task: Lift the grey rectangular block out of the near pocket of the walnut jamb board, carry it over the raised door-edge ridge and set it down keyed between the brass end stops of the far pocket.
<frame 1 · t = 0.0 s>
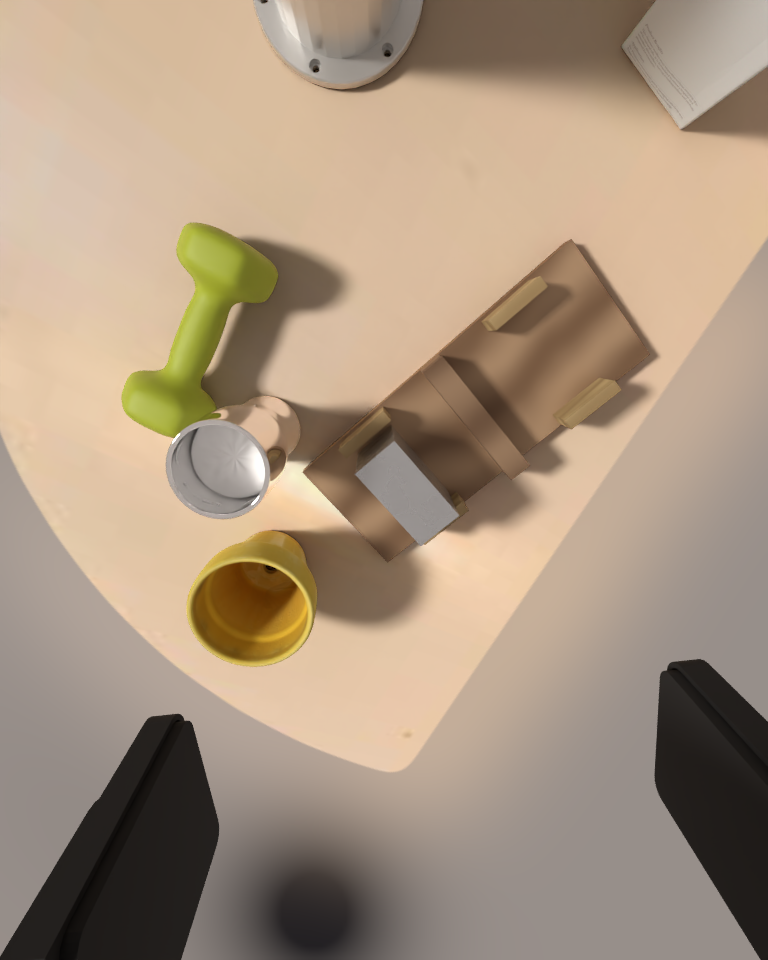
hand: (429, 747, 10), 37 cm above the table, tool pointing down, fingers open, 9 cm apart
jamb board: (468, 412, 45), on the table
plant pot: (274, 560, 49), on the table
dumbbell: (213, 337, 43), on the table
skincare box: (674, 61, 38), on the table
grey rectangular block: (403, 471, 45), point 1 cm above the table, touching jamb board
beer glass: (268, 428, 46), on the table
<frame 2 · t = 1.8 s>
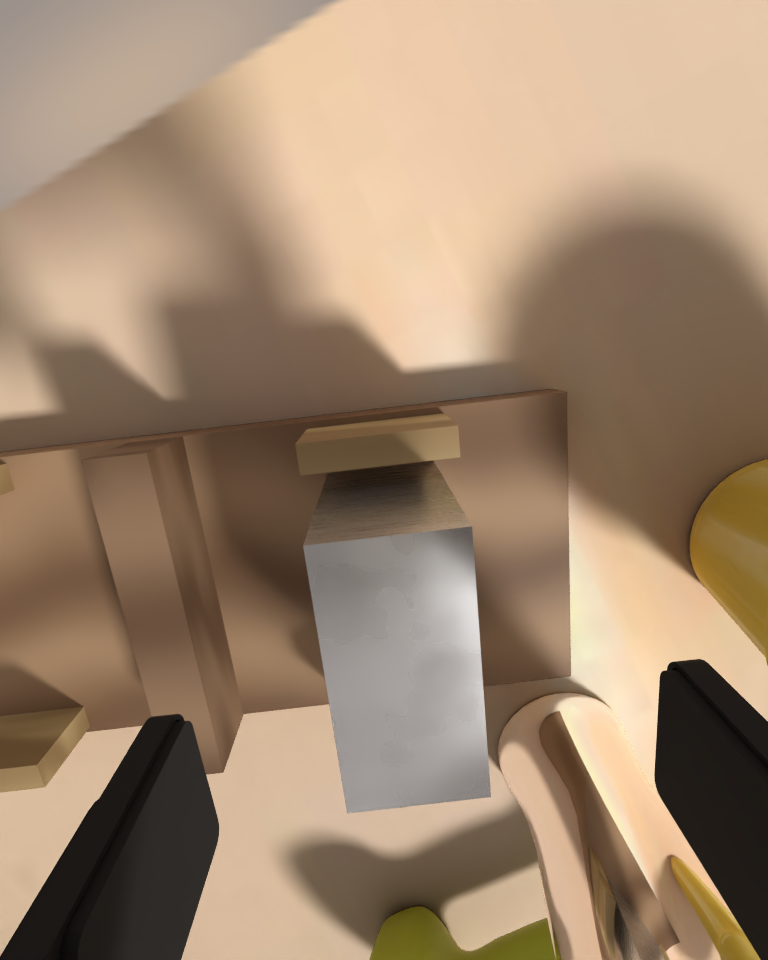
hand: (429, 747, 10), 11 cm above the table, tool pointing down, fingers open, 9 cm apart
jamb board: (202, 572, 21), on the table
plant pot: (760, 527, 21), on the table
dumbbell: (522, 881, 26), on the table
grey rectangular block: (392, 565, 19), point 1 cm above the table, touching jamb board
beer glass: (558, 742, 24), on the table
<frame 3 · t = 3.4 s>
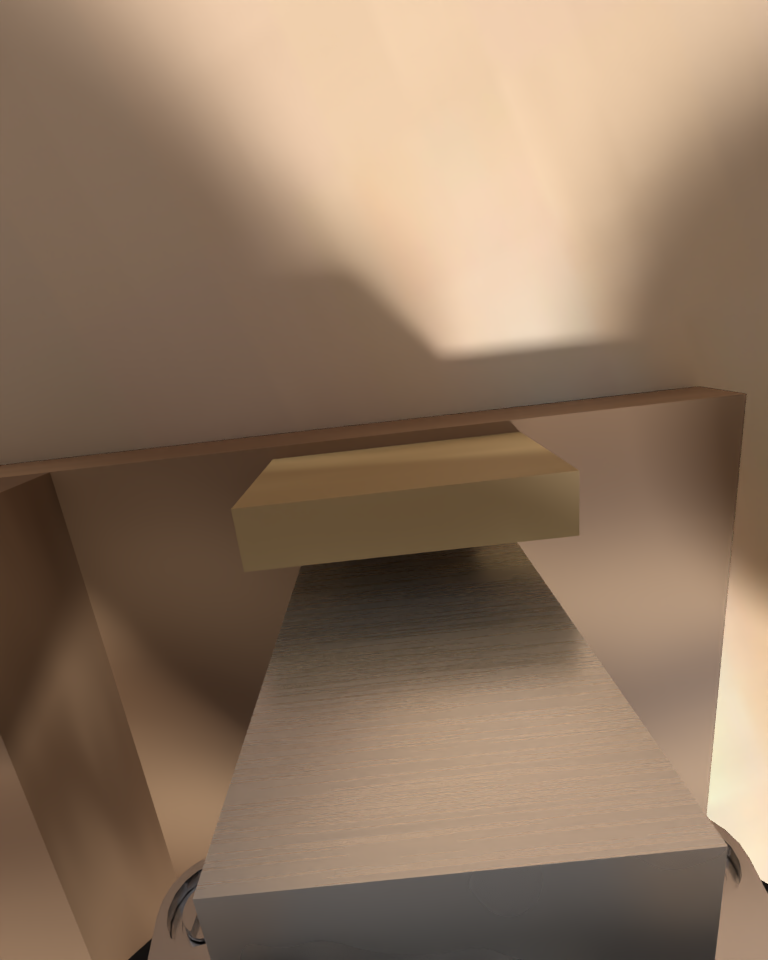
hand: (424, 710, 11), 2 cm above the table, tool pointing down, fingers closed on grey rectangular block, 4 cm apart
jamb board: (116, 678, 13), on the table
grey rectangular block: (421, 684, 11), point 1 cm above the table, touching gripper, jamb board
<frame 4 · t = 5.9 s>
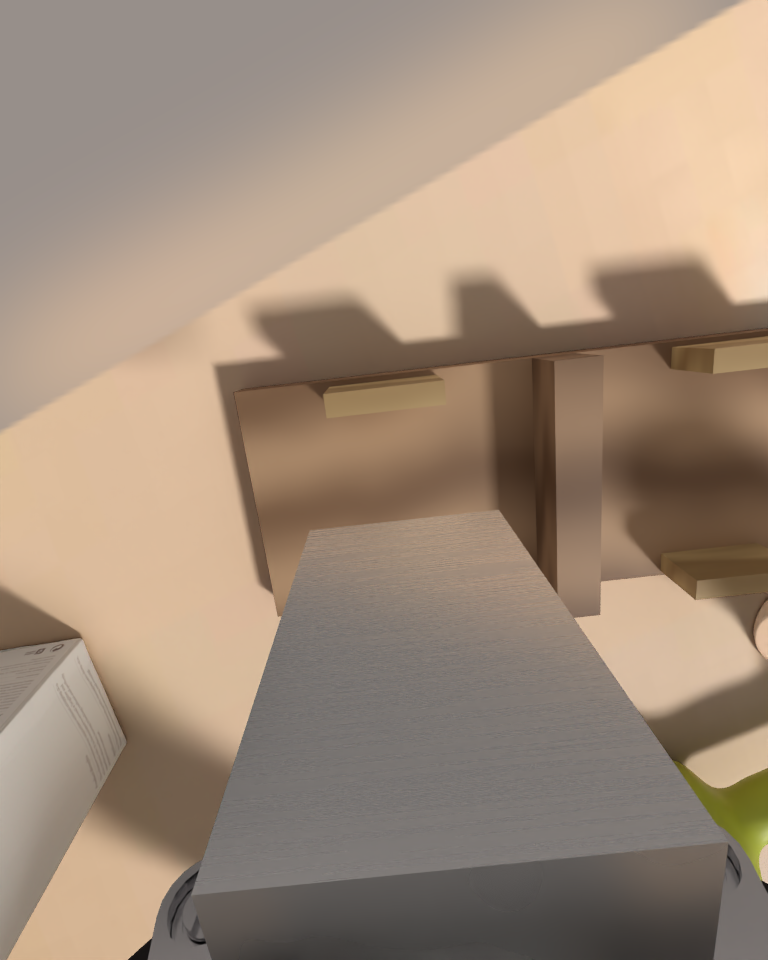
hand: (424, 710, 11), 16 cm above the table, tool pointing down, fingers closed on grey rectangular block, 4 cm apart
jamb board: (545, 470, 26), on the table
dumbbell: (750, 741, 32), on the table
skincare box: (68, 698, 30), on the table
grey rectangular block: (420, 678, 12), point 15 cm above the table, touching gripper
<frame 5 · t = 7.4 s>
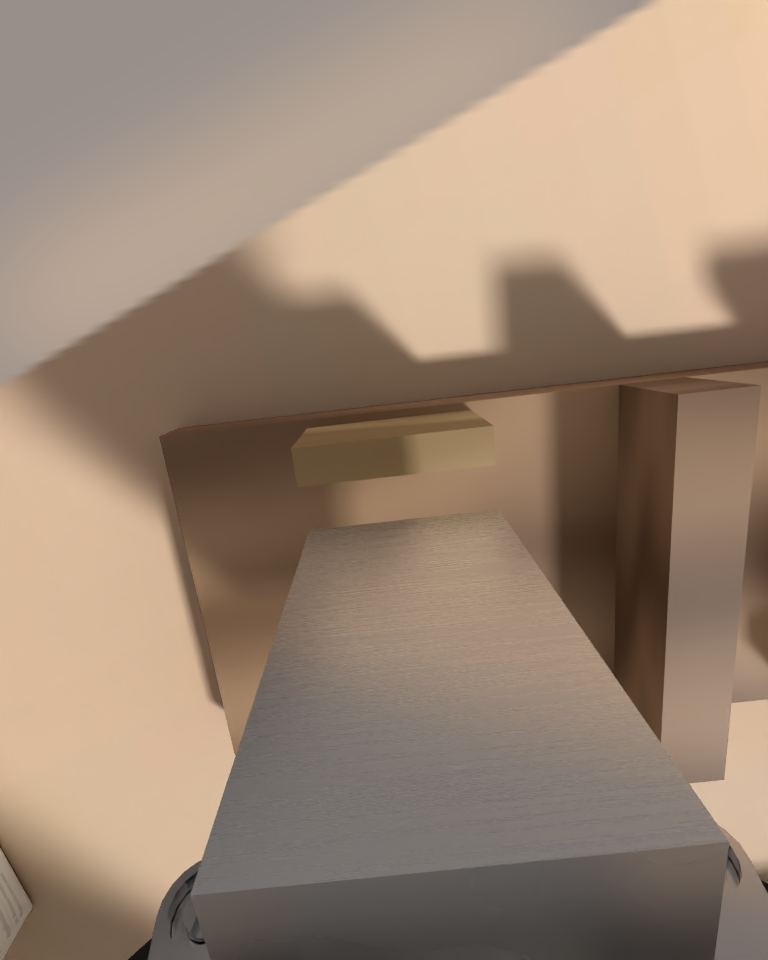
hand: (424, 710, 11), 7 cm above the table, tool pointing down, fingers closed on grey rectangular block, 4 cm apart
jamb board: (624, 545, 18), on the table
grey rectangular block: (420, 678, 11), point 7 cm above the table, touching gripper
when the fingers open (4 cm above the table, at t = 8.5 s): grey rectangular block drops 1 cm, resting on jamb board.
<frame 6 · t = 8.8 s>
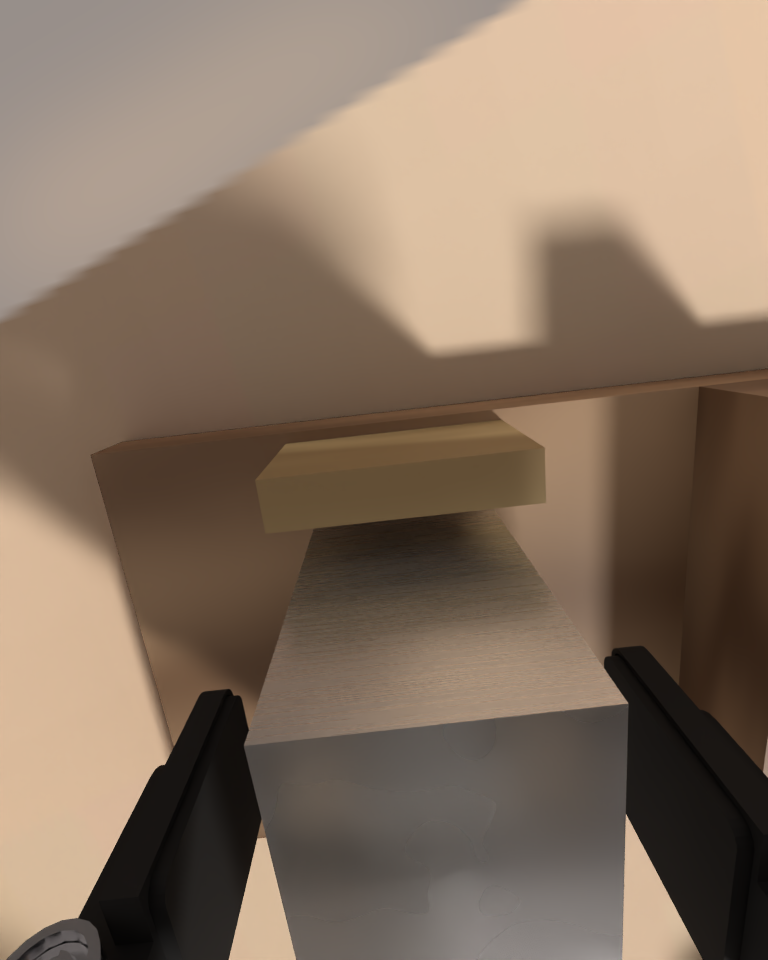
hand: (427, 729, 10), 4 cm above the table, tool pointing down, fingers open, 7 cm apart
jamb board: (686, 586, 14), on the table
grey rectangular block: (417, 647, 13), point 1 cm above the table, touching jamb board
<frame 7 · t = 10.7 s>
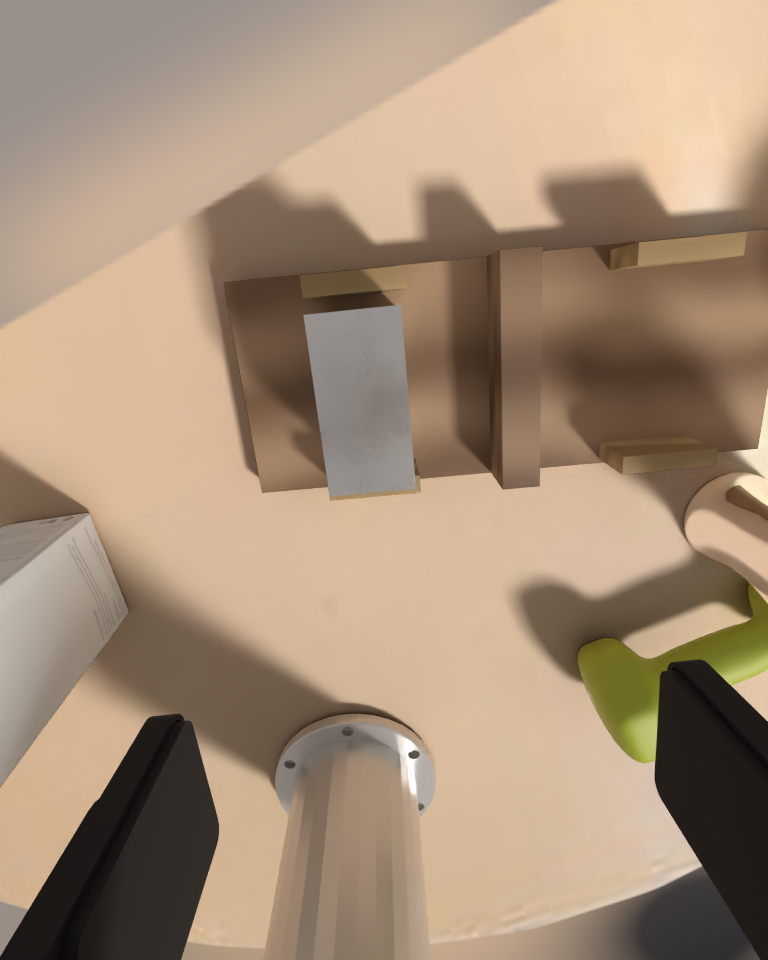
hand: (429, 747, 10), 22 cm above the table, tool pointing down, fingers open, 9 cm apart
jamb board: (500, 367, 29), on the table
dumbbell: (680, 625, 36), on the table
skincare box: (77, 570, 34), on the table
grey rectangular block: (366, 383, 28), point 1 cm above the table, touching jamb board
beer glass: (727, 513, 33), on the table
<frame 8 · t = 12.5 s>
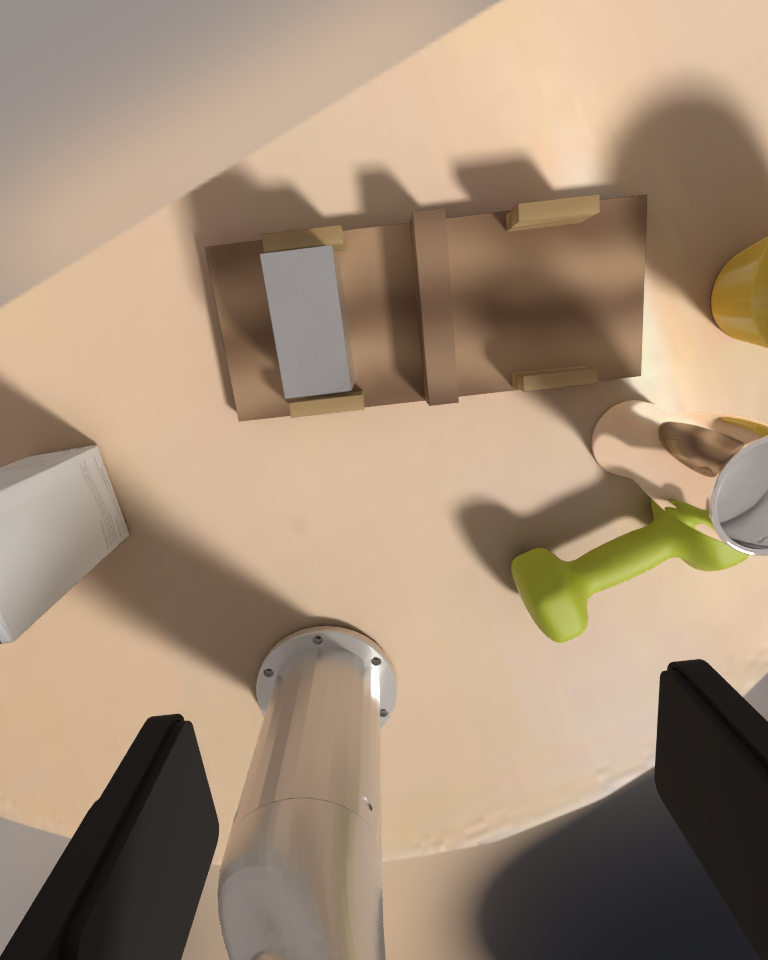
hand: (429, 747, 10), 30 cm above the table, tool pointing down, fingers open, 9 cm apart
jamb board: (429, 315, 36), on the table
plant pot: (752, 292, 36), on the table
dumbbell: (599, 539, 42), on the table
skincare box: (86, 497, 40), on the table
grey rectangular block: (320, 327, 35), point 1 cm above the table, touching jamb board
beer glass: (627, 437, 39), on the table
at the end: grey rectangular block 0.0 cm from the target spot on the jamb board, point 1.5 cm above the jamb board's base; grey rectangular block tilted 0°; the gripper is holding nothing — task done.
